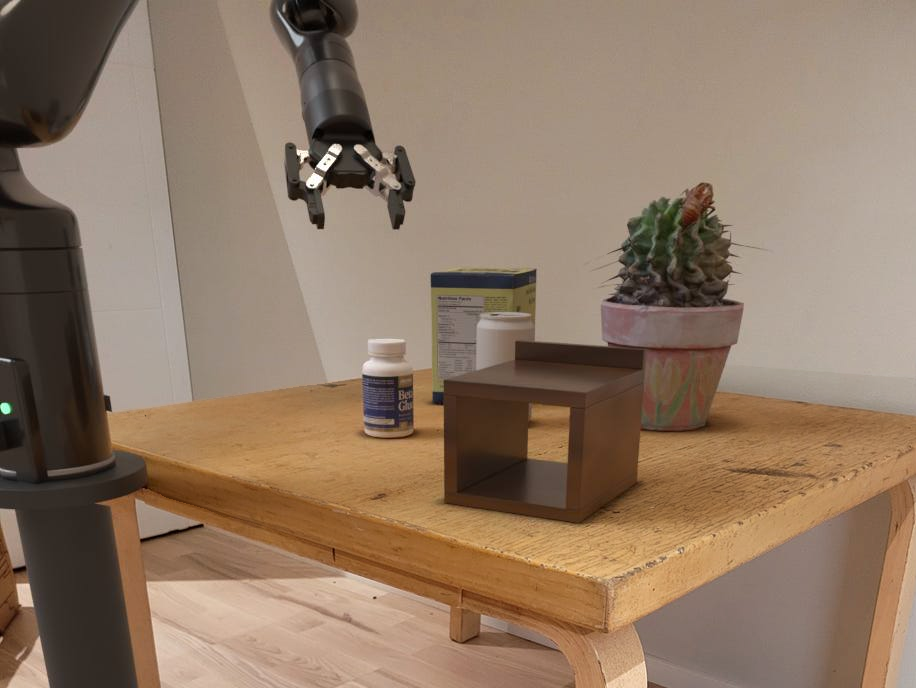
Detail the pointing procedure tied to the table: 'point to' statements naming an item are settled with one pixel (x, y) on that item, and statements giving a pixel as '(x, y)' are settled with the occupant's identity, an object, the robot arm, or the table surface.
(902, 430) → the table surface
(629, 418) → the shelf
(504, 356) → the beverage can
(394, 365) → the pill bottle
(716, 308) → the potted plant
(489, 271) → the protein box
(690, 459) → the table surface
